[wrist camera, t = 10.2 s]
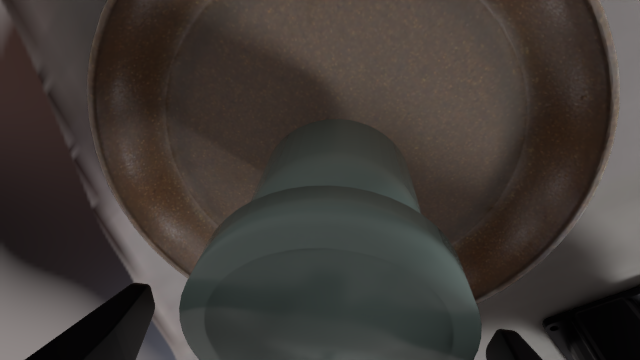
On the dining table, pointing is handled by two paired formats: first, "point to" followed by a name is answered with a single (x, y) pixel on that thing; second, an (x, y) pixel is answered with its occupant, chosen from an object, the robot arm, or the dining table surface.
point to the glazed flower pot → (331, 262)
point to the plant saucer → (360, 111)
